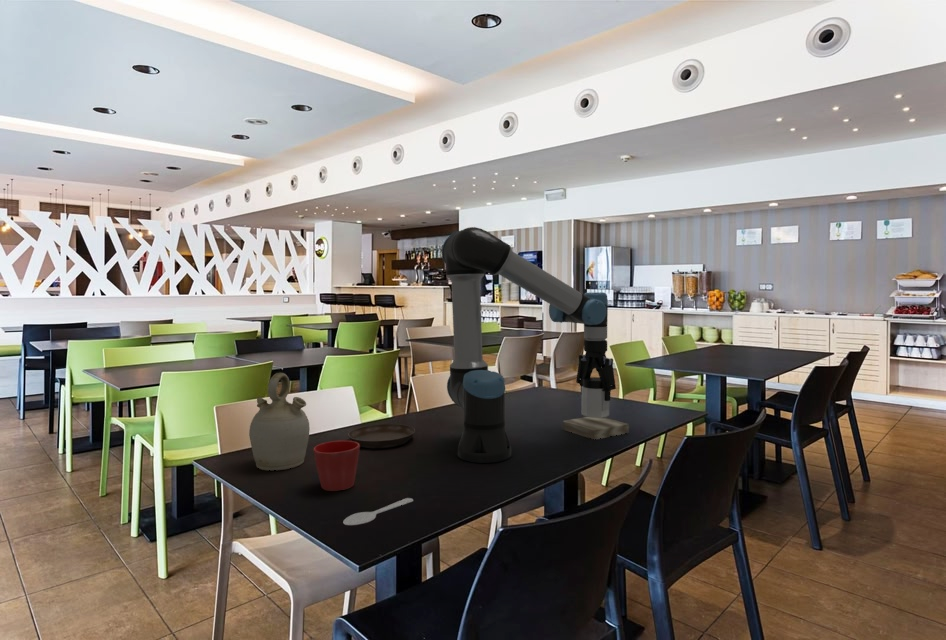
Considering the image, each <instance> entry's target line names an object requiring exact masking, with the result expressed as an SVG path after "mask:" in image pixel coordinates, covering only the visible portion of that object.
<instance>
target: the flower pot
mask: <svg viewBox="0 0 946 640" xmlns="http://www.w3.org/2000/svg"><path fill="white" fill-rule="evenodd" d="M360 448H361V446H360V445H359V443H357V442H354V441H351V440H332V441H327V442H322V443H319V444H317V445H316V446H314V447H313V455H314V460H315V461H314V462H315V466H316V471H317V475H318V479H319V483H320V487H321V489H323V490H324V491H328V492H339V491H342V490H343V491H344V490H348V489H350V488H352V487H353V486H354V485H355V480H356V474H357V471H358V462H359V456H360V455H359V454H360Z"/></svg>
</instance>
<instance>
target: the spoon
mask: <svg viewBox="0 0 946 640" xmlns="http://www.w3.org/2000/svg"><path fill="white" fill-rule="evenodd" d="M412 502H414V499H413V498H411V497H406V498H403V499H402V500H398V501H396V502H393V503H391V504H389V505H386V506H384V507H380V508H379V509H376V510H374V511H362V512H361V511H360V512H356V513H353V514H350V515H349V516H347V517H345V519H343V522H342V524H343V525H345V526H358V525H362V524H367V523H370V522H371V521H373V520H375V519H376V518H377V515H378V514H380V513H384V512H386V511H387V512H388V511H389V510H392V509H395V508H398V507H401V505H402V506H404V505H407V504H409V503H412Z"/></svg>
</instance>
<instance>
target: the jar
mask: <svg viewBox="0 0 946 640" xmlns="http://www.w3.org/2000/svg"><path fill="white" fill-rule="evenodd" d="M606 387H607V386H606ZM602 390H603V387H602V383H601V380H600V377H598V376H595V377H594V376H592V377H591V376H590V377H588V378H583V386H582V389H581V388H580V396H581V403H580V404H581V406H580V407H581V413H580V415H583V417H593V418H603V417H604V418H607V417H609V416H610V409H609V410H608V411H601V391H602Z"/></svg>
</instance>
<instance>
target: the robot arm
mask: <svg viewBox="0 0 946 640" xmlns="http://www.w3.org/2000/svg"><path fill="white" fill-rule="evenodd" d="M441 257H442V258H441V259H442V260H443V262H444V264H445V275H446V277H447V279H449V281H450V282H451V303H452V327H453V328H452V331H453V350H454V354H453V356H454V357H453V358H454V360H453V361H452V363H451V364H450V365H449V377H448V379H447V383H446V392H447V394H448V396H449V398H450V399H451V401H452V402H453V403H454V404H456V406H458V407H460V408H462V409H463V428H462V429H463V430H462V433H461V436H460V440H459V443H458V445H457V456H458V458H459V459H461V460H462V461H466V462H471V463H479V464H487V463H488V464H489V463H497V462H502V461H506V460H508V459H510V457H512V445H511V444H510V440H509V437H508V435H507V434H508V433H507V431H506V427H505V426H506V424H505V423H506V417H505V416H506V411H505V410H506V408H505V407H506V383H505V378H504V376H503V375H502V374H501V373H499V372H496V371H491V370H489V364H488V363H487V362H486V361H485V359H483V334H482V307H481V303H482V301H481V280H482V279H483V277H484V276H485V272H487V273H489V274H490V275H492V276H496V275H497V276H498V275H499V276H501V277H502V278H505V280H508V281H510V282H511V283H513V284H515V285H517V286H518V287H520V288H521V289H523V290H525V291H527V292H529V293H530V294H532V295H534V296H535V297H537V298H539V299H540V300H543V301H544V302H546V303H547V304H549V307H548V315H549V319H550V320H551V321H552V322H553V323H561V324H563V323H572V324H582V325H583V339H585V340H583V351H584V352H585V354H579V355H578V367H577V372H576V380H575V382H576V384H579V386H580V390H581V389H582V386H583V378H588V377H591V376H592V374H593V371H594V369H595V370H596V372H597V373H598V376H599V377H600V380H601V383H602V387H603V390H602V391H601V411H608V410H609V411H610V401H611V391H613V390H616V389H617V388H616V379H615V373H614V359H613V357H611V358H608V357H607V355H606V353H607V352H608V340H606V339H608V315H609V314H608V313H609V312H608V310H609V301H608V294H607V293H606V292H597V291H596V292H585V293H582V292H580V291H579V290H577V289H575V288H574V287H572V286H571V285H568V284H567V283H565V282H563V281H562V280H560V279H558V278H557V277H555V276H554V275H552V274H551V273H549V272H547V271H546V270H544V269H542V268H541V267H539V266H538V265H536V264H534V263H532V262H530V261H529V260H527V259H526V258H524V257H523V256H521V255H519V254H518V253H516V252H514V251H513V250H512V246H511V245H510V244H508V243H506V242H505V241H503V240H502V239H500V238H499V237H497V236H495V235H494V234H492V233H490V232H488V231H487V230H485V229H482V228H481V227H475V226H473V227H472V226H471V227H470V226H469V227H466V228H464V229H461V230H457V231H454V232H453V233H451V234H450V235H448V236H447V238H446V239H445V240H444V241H443V244H442V246H441ZM606 386H607V387H606Z"/></svg>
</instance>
